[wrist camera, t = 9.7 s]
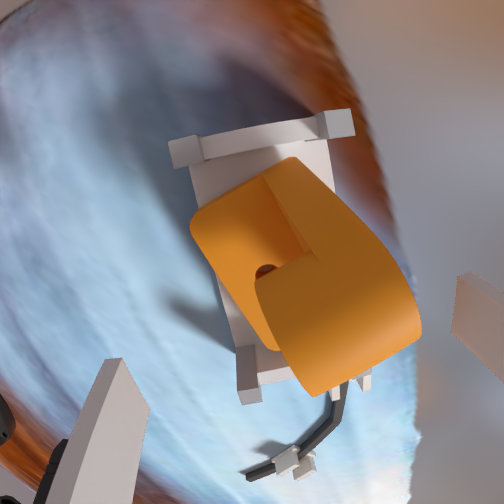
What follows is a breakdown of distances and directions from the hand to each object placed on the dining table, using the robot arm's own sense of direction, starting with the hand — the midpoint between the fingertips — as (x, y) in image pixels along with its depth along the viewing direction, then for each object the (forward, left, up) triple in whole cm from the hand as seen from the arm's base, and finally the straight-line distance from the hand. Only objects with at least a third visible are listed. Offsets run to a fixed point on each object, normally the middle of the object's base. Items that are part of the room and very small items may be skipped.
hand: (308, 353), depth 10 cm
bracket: (0, 0, -11) cm, 11 cm away
